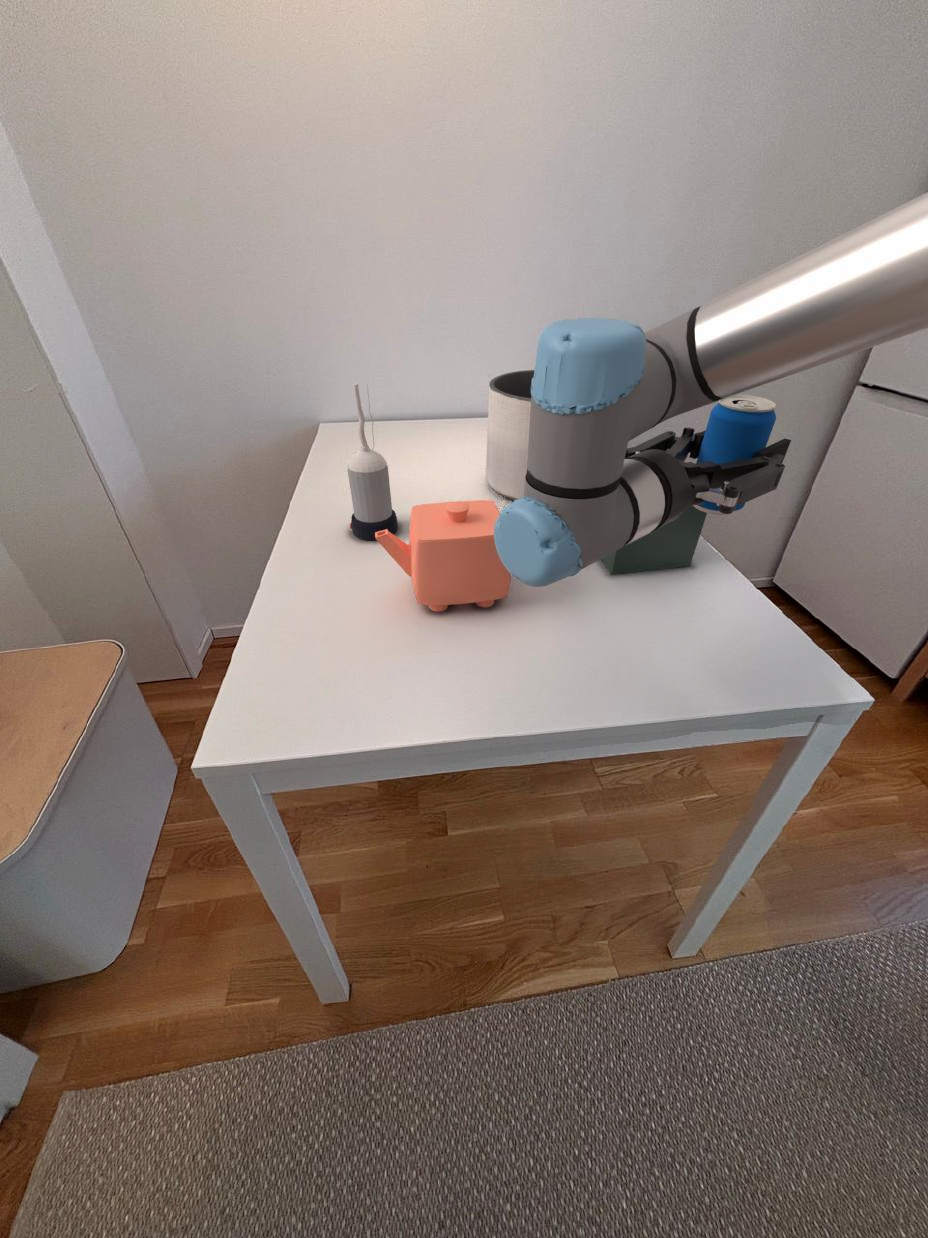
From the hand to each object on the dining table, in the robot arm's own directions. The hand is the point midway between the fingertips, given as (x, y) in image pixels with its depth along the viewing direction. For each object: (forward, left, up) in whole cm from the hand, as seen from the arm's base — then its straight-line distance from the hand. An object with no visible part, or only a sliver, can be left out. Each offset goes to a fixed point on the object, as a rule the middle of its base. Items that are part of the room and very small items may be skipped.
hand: (752, 442), depth 61 cm
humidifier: (+52, +19, -24) cm, 60 cm away
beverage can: (+1, +5, -7) cm, 8 cm away
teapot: (+28, +22, -24) cm, 43 cm away
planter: (+43, -17, -24) cm, 52 cm away
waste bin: (+15, -8, -24) cm, 29 cm away
